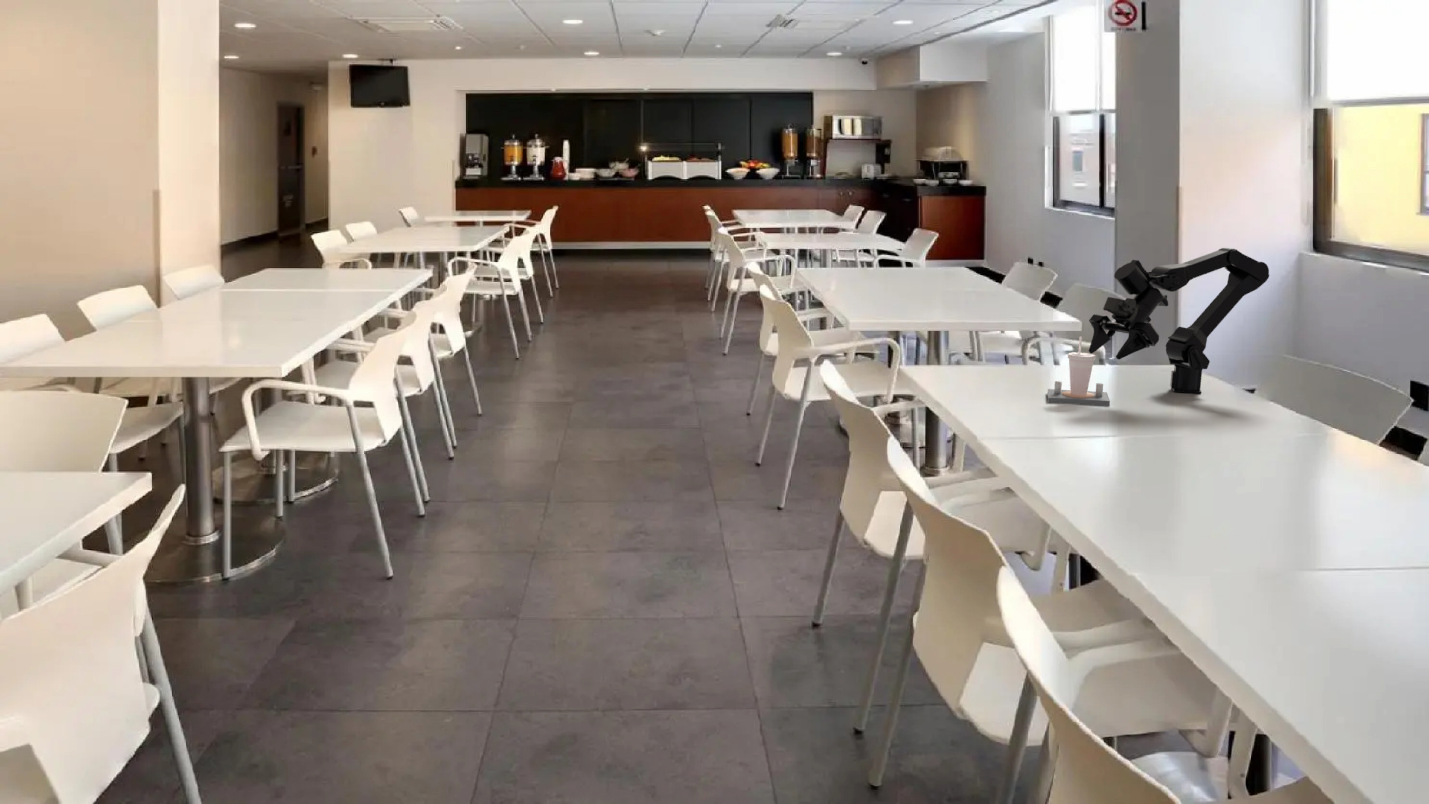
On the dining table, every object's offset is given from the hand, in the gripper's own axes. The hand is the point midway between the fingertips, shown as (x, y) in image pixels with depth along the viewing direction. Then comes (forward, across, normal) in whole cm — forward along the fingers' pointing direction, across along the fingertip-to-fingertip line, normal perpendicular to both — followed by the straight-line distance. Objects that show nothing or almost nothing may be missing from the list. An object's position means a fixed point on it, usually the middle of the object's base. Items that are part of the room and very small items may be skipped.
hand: (1103, 355), depth 296 cm
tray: (+12, 0, +2) cm, 13 cm away
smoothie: (+11, 0, +2) cm, 12 cm away
